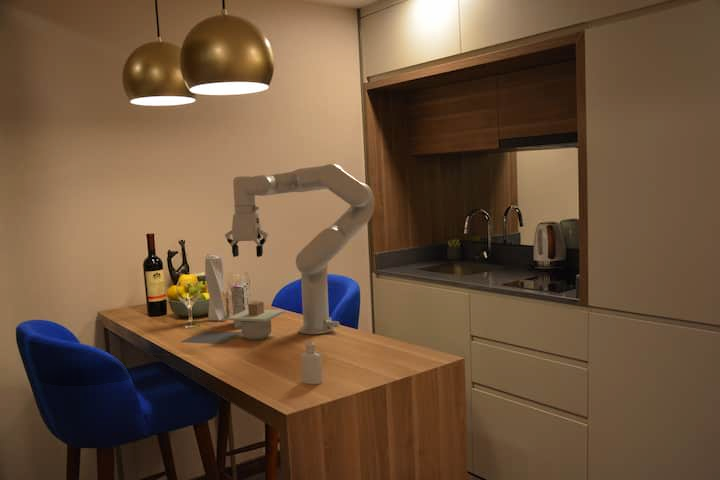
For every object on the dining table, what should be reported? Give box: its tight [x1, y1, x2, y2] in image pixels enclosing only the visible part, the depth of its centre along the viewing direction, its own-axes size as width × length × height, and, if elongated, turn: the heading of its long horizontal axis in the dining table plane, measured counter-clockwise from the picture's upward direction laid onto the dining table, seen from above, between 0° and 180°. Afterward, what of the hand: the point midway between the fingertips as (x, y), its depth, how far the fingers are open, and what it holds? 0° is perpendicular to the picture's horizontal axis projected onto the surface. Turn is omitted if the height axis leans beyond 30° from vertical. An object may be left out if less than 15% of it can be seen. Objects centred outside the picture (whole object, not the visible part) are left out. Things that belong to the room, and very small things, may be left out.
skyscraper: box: [204, 252, 232, 322], centre depth 259 cm, size 8×8×28 cm
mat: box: [180, 330, 243, 345], centre depth 228 cm, size 17×17×1 cm
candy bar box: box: [230, 281, 251, 329], centre depth 246 cm, size 11×5×16 cm, turn 179°
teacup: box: [240, 319, 272, 341], centre depth 227 cm, size 14×11×8 cm
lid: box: [226, 301, 285, 322], centre depth 226 cm, size 15×15×5 cm
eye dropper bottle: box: [300, 339, 323, 385], centre depth 174 cm, size 4×6×12 cm
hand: (247, 256), depth 234 cm, fingers open, 9 cm apart
